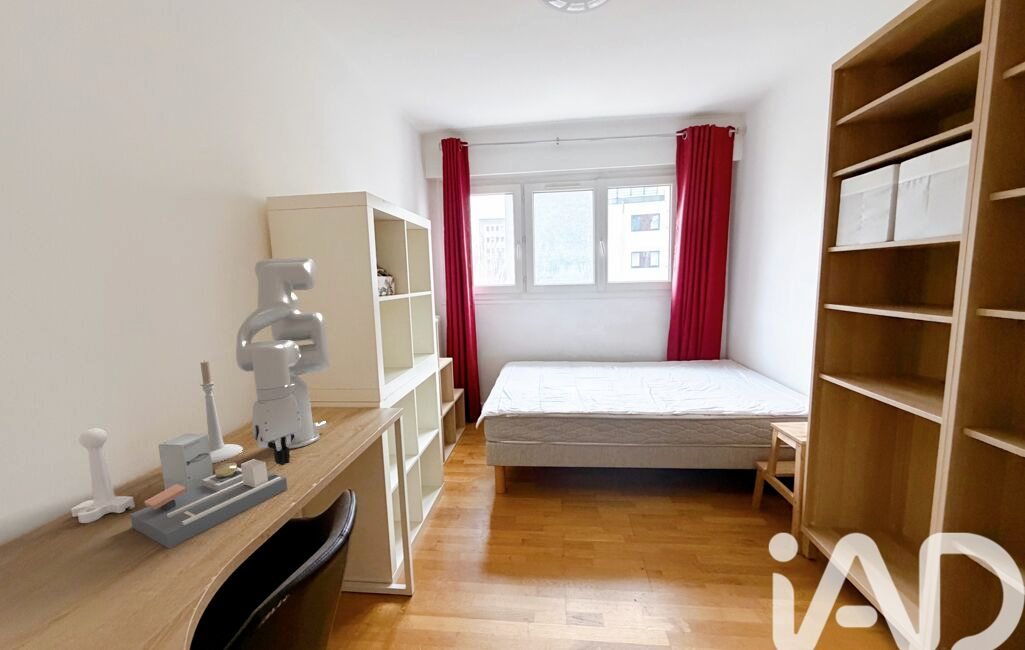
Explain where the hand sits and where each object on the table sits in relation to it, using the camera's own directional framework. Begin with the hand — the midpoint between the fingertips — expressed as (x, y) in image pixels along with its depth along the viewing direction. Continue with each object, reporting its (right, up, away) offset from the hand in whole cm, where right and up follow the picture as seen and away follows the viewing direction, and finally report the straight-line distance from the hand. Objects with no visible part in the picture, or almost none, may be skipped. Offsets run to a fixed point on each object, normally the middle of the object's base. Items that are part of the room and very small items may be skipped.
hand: (282, 463), depth 101 cm
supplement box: (-26, -7, +3) cm, 27 cm away
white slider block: (-3, -3, -6) cm, 7 cm away
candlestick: (-32, -5, +21) cm, 38 cm away
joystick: (-37, -9, -10) cm, 39 cm away
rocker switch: (-17, -3, -14) cm, 22 cm away
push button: (-12, -2, -3) cm, 12 cm away
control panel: (-10, -7, -9) cm, 16 cm away
